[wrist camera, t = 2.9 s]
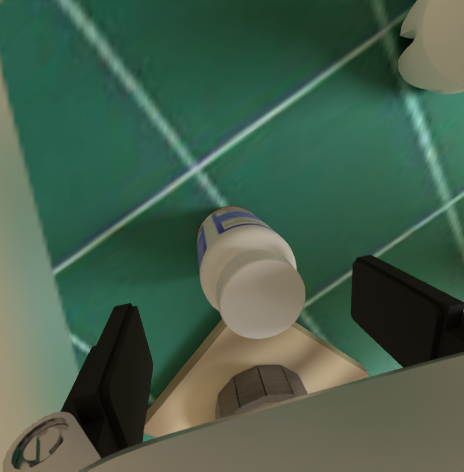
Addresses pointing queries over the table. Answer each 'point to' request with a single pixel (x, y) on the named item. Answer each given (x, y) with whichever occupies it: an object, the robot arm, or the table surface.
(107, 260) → the table surface
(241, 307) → the pill bottle
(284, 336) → the stand plate
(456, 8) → the water bottle
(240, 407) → the collar
